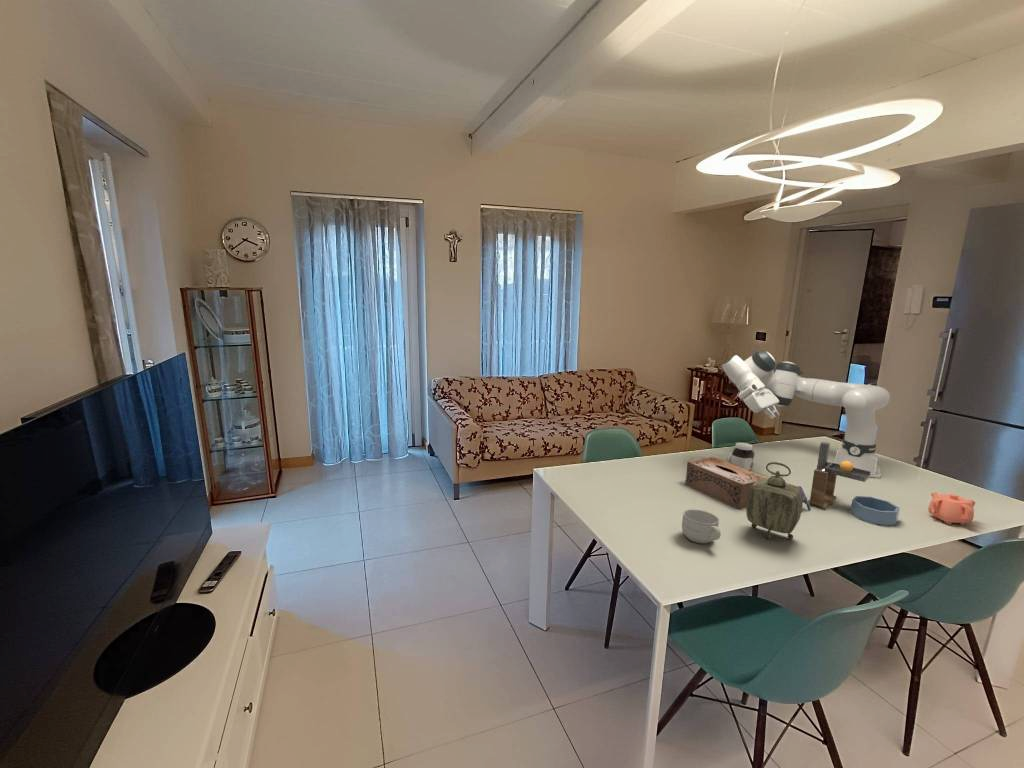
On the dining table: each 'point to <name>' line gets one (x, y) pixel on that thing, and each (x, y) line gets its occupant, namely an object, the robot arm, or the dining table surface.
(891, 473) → the dining table surface
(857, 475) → the lever
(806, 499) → the flower
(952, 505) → the teapot
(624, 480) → the dining table surface
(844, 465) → the ball
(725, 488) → the tissue box cover
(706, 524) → the teacup
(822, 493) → the stand
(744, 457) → the spread jar
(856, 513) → the blue octagonal bowl
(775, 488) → the tabletop clock
